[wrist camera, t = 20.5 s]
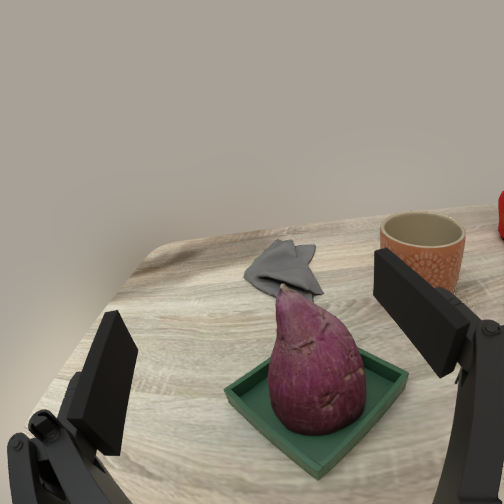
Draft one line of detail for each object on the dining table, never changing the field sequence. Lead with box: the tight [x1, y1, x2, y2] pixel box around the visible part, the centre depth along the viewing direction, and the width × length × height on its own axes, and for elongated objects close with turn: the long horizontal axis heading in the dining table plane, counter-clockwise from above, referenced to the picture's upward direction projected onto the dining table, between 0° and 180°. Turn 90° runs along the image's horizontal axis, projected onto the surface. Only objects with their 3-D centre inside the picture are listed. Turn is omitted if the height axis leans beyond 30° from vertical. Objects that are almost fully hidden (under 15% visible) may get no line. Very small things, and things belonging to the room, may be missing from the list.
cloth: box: [244, 239, 323, 302], centre depth 53 cm, size 26×14×2 cm, turn 172°
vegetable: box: [268, 284, 366, 435], centre depth 26 cm, size 10×10×15 cm
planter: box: [380, 211, 466, 293], centre depth 37 cm, size 12×12×11 cm
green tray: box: [224, 347, 409, 480], centre depth 28 cm, size 14×14×3 cm
